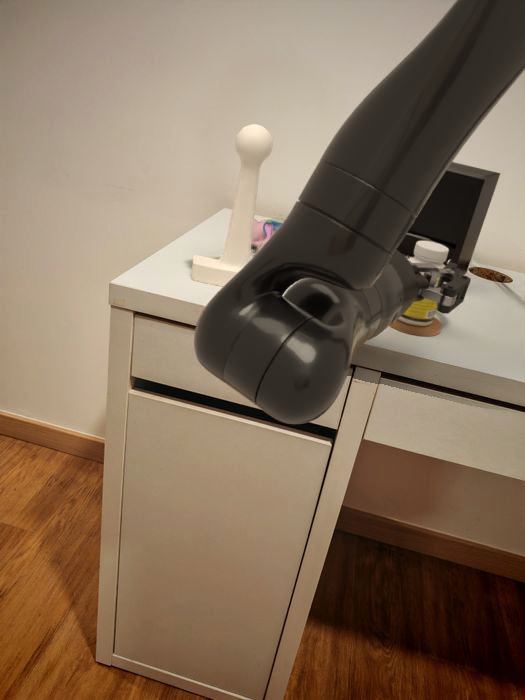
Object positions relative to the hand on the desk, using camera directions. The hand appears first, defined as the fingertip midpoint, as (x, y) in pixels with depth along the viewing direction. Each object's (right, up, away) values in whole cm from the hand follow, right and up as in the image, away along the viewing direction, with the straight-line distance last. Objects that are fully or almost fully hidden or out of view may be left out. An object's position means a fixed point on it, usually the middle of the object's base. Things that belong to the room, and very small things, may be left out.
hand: (414, 260), depth 65 cm
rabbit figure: (-17, +6, +27) cm, 33 cm away
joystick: (-21, 0, +14) cm, 25 cm away
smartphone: (-15, +10, +38) cm, 42 cm away
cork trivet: (+2, -6, +11) cm, 13 cm away
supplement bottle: (+2, -6, +10) cm, 12 cm away
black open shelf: (+6, +5, +34) cm, 35 cm away
